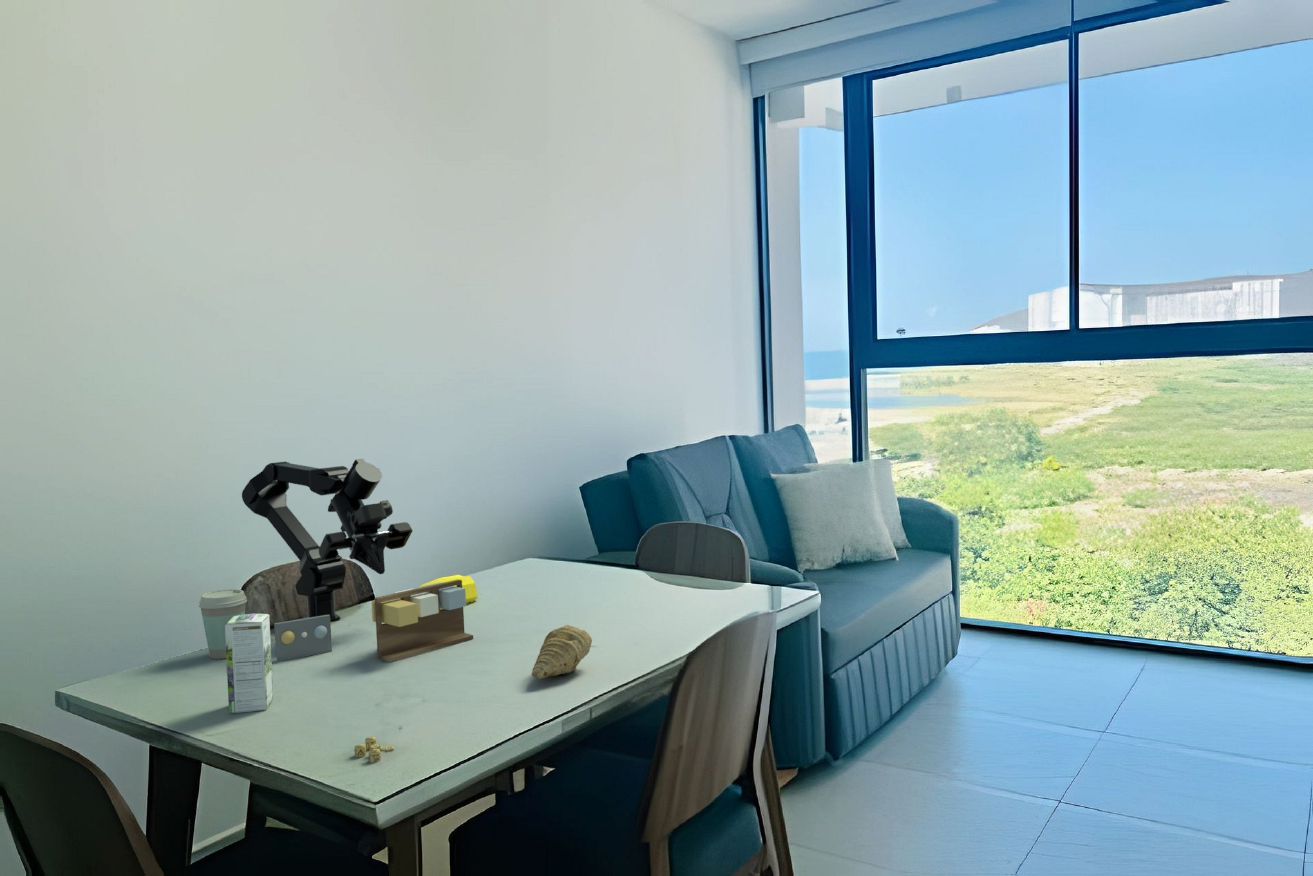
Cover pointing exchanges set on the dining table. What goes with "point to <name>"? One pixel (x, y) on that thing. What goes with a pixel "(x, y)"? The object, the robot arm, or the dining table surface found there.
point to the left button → (397, 612)
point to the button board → (419, 627)
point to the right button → (451, 597)
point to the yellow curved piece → (466, 583)
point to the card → (303, 637)
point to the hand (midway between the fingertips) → (382, 572)
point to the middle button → (424, 603)
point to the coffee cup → (220, 617)
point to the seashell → (562, 651)
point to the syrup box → (249, 663)
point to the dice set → (371, 749)
